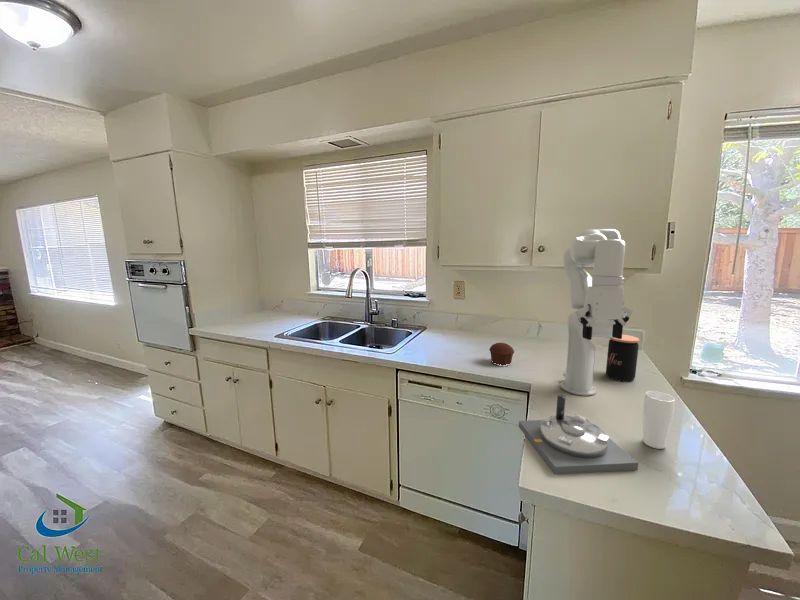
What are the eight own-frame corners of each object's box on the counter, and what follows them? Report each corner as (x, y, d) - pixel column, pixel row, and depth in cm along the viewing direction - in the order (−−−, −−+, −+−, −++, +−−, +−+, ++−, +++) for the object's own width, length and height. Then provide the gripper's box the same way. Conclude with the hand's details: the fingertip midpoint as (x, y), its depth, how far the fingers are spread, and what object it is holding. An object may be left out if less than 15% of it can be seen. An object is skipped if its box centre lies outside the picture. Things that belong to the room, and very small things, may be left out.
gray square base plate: (518, 426, 105) (519, 420, 105) (585, 423, 106) (585, 417, 106) (554, 473, 83) (555, 466, 83) (637, 469, 85) (638, 461, 84)
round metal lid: (530, 423, 102) (531, 395, 101) (582, 421, 103) (585, 393, 102) (559, 458, 86) (562, 425, 84) (622, 455, 87) (625, 422, 85)
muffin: (516, 362, 162) (517, 342, 161) (510, 369, 153) (511, 348, 152) (492, 357, 169) (493, 339, 167) (485, 364, 160) (486, 344, 158)
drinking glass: (655, 437, 99) (661, 390, 96) (675, 451, 92) (682, 401, 89) (633, 437, 98) (639, 390, 96) (651, 451, 92) (658, 401, 89)
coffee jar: (600, 372, 149) (604, 333, 146) (625, 372, 148) (630, 334, 145) (613, 381, 138) (617, 340, 135) (640, 382, 137) (645, 341, 134)
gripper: (623, 280, 102) (618, 334, 104) (571, 281, 100) (567, 336, 102) (644, 282, 94) (638, 340, 96) (587, 283, 93) (583, 342, 95)
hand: (601, 338), depth 99 cm, fingers open, 9 cm apart
